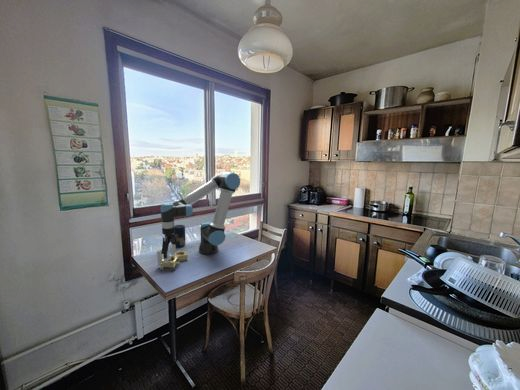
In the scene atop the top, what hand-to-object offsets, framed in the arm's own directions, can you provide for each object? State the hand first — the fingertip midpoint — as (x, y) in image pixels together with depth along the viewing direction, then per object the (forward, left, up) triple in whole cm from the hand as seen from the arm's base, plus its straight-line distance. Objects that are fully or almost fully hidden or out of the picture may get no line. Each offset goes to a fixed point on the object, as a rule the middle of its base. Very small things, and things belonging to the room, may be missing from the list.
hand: (170, 257), depth 147 cm
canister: (+6, -38, -7) cm, 39 cm away
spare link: (-3, -13, -7) cm, 15 cm away
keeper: (+2, 0, -7) cm, 7 cm away
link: (+1, 0, -4) cm, 5 cm away
